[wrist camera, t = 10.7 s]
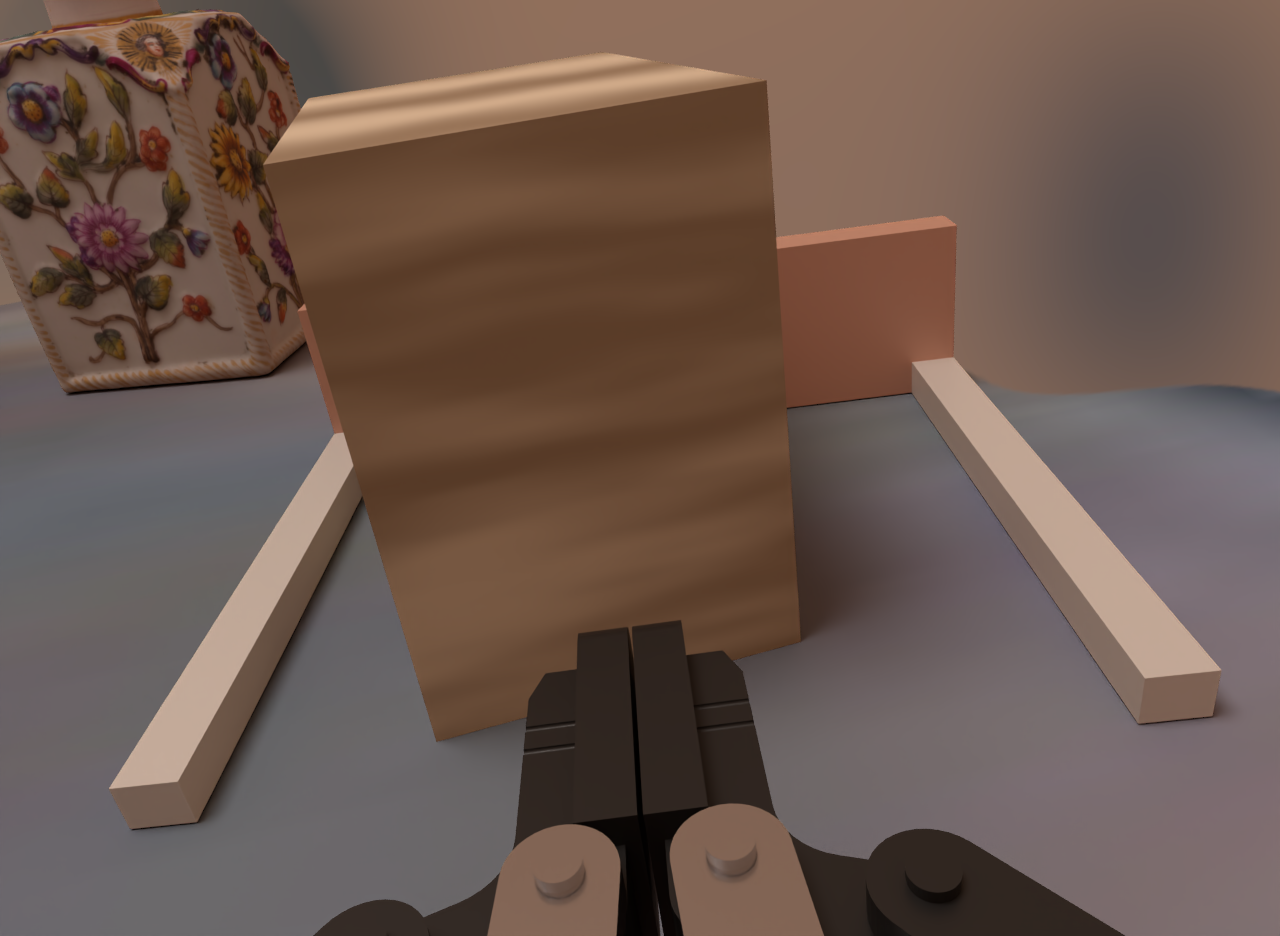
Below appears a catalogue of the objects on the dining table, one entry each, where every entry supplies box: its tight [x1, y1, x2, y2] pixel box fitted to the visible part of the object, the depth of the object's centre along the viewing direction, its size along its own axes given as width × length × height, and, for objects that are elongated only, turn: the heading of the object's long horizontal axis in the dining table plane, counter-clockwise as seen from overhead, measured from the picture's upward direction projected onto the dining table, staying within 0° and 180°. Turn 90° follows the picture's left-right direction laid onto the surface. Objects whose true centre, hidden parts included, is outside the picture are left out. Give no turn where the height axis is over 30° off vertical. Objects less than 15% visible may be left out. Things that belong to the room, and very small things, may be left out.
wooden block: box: [263, 52, 801, 742], centre depth 26 cm, size 14×9×13 cm, turn 15°
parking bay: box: [109, 216, 1221, 829], centre depth 27 cm, size 19×23×6 cm
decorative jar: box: [0, 0, 306, 393], centre depth 48 cm, size 12×12×18 cm
